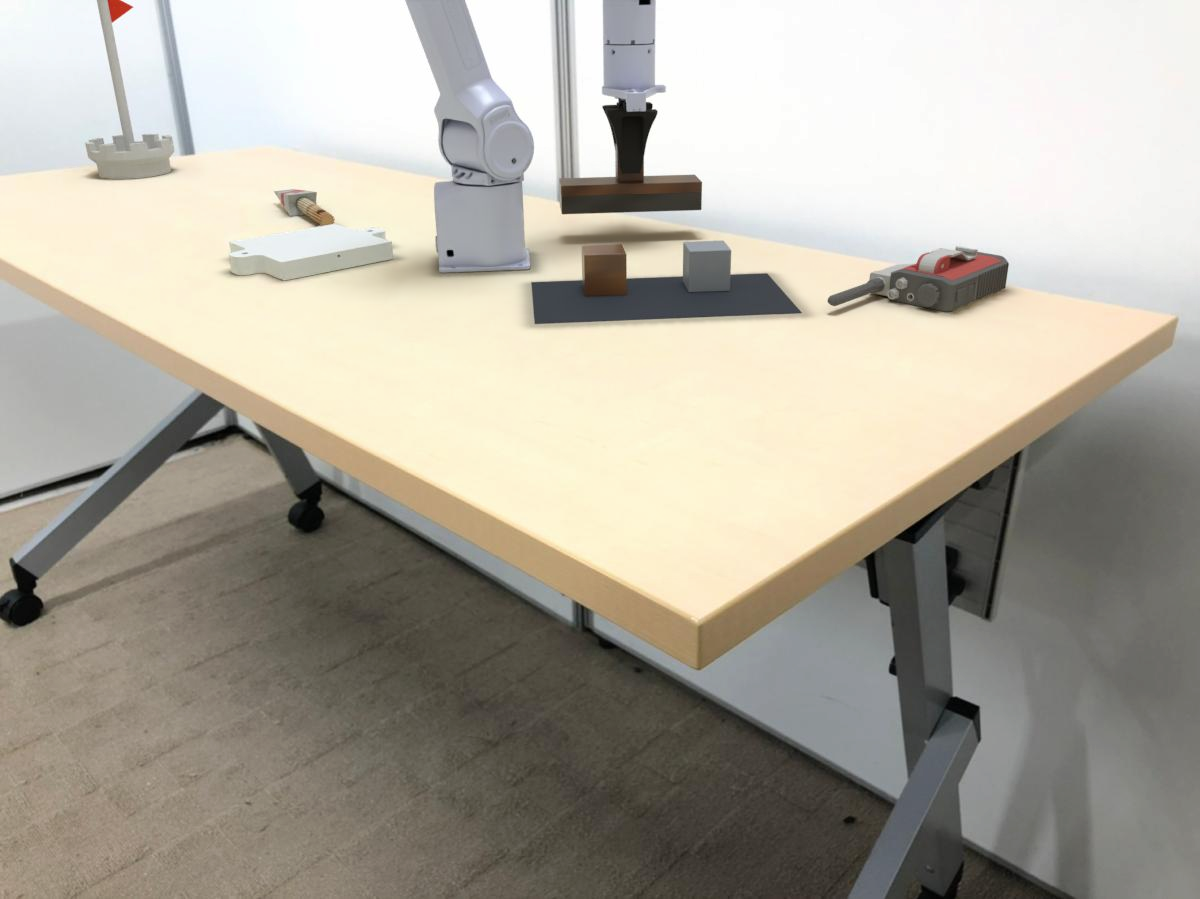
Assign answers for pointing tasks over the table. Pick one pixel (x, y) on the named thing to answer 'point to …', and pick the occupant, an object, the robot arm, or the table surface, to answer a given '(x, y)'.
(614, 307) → the mat
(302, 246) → the mounting plate
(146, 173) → the flag stand
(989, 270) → the walkie-talkie
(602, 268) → the block brown
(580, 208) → the board eraser
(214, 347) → the table surface
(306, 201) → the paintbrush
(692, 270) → the block slate
